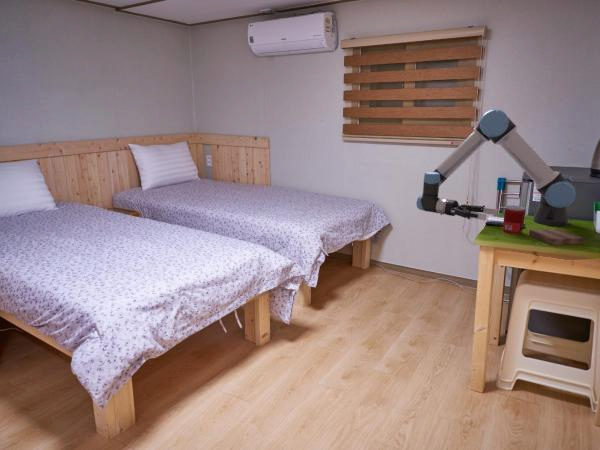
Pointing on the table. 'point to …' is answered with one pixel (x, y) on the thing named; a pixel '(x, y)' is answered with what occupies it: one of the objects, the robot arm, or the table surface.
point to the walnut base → (555, 237)
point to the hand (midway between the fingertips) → (491, 214)
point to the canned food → (513, 219)
